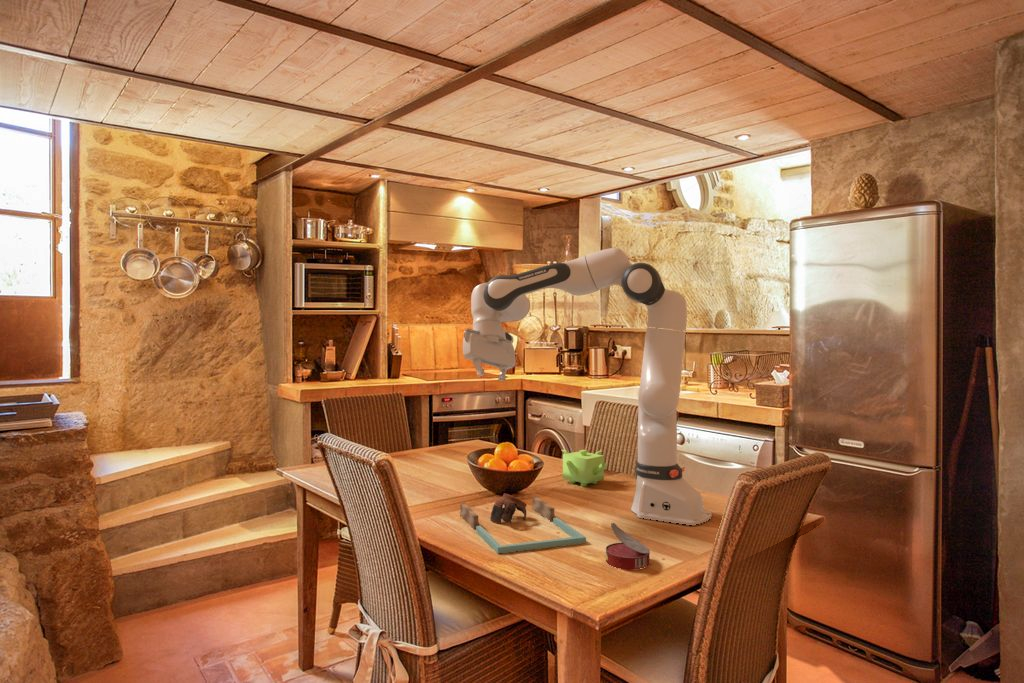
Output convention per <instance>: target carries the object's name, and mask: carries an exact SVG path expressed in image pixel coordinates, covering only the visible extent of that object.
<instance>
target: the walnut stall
mask: <svg viewBox="0 0 1024 683" xmlns="http://www.w3.org/2000/svg"><path fill="white" fill-rule="evenodd" d="M459 505H460V508H459V510H460V511H459V512H460V517H461V518H462V519H463V520H464V521H465V522H466V523H467V524H468V525H469V526H470V527H471V528H472V529H473V530H474V529H475V530H476V526H479V515H478V514H477V513H476V512H475V511H474V510H473V509H472V508H470V507H469V506H468V505H467V504H466V503H465V502H462V503H460V504H459ZM532 508H533V509H534V510H533V509H532ZM532 508H531V509H532V510H533V511H535V510H536V511H537V512H536V511H535V512H536V513H538V514H539V513H540V514H541V516H542V515H543V516H544V517H543V516H542V517H543V518H545V519H546V518H547V519H548V521H549V520H550V521H549V522H553V518H555V507H553V506H551V505H550V504H549V503H547V502H546V501H544V500H542V499H541V498H539V497H537V496H532ZM540 514H539V515H540ZM547 519H546V520H547Z"/></svg>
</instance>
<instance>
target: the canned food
mask: <svg viewBox="0 0 1024 683" xmlns="http://www.w3.org/2000/svg"><path fill="white" fill-rule="evenodd" d="M610 524H611V525H610V527H611V531H612V532H613V535H615V537H616V538H617V539H618V540H619V541H620V542H614V543H612V544H608V545H607V546H606V547H605V563H606V562H607V563H608V564H609V565H608V564H607V563H606V564H607V565H608V566H610V565H611V566H610V567H612V566H613V567H612V568H614V567H616V568H615V569H618V568H621V569H620V570H622V569H640V568H644V567H646V566H648V565H649V566H650V555H651V554H650V553H651V552H650V549H649V548H648V547H647V546H646V545H645V544H644V543H643V542H641V541H639V540H638V539H636V538H634V537H633V536H631V535H630V534H628V533H627V532H625V531H624V530H623V529H621V528H620V527H619V526H618V525H617V524H616V523H615V522H612V523H610ZM649 566H648V567H649ZM644 569H645V568H644ZM640 570H641V569H640Z"/></svg>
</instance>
